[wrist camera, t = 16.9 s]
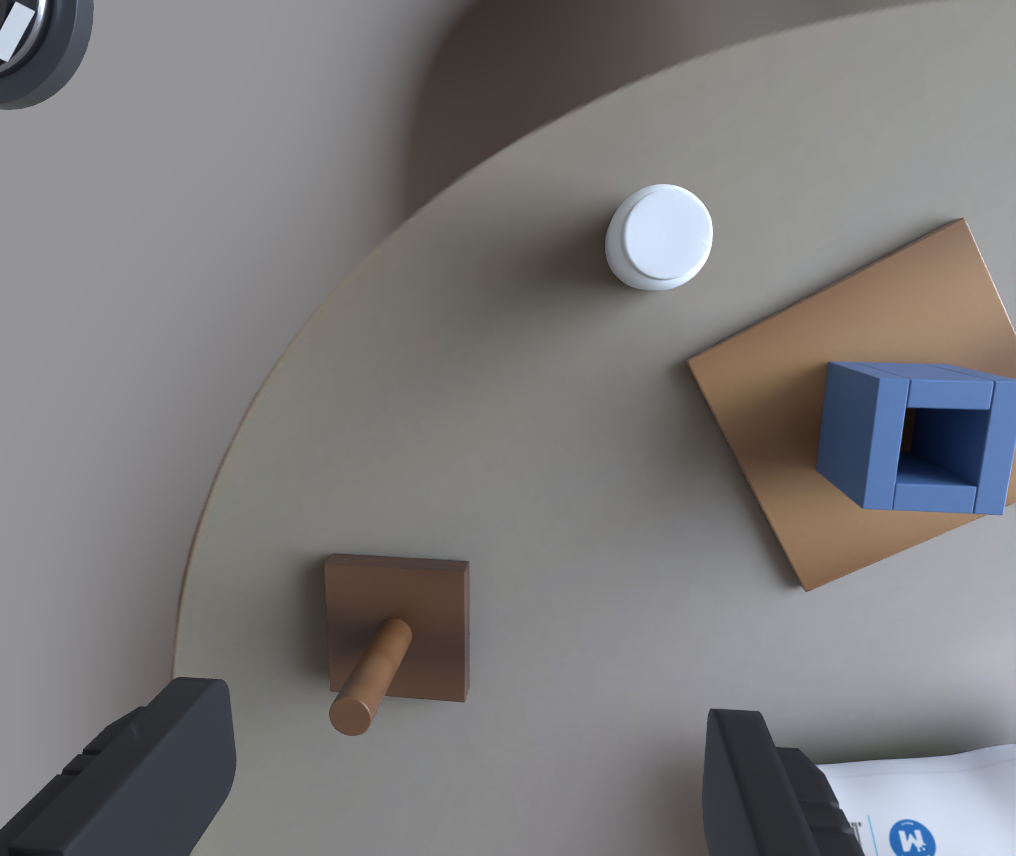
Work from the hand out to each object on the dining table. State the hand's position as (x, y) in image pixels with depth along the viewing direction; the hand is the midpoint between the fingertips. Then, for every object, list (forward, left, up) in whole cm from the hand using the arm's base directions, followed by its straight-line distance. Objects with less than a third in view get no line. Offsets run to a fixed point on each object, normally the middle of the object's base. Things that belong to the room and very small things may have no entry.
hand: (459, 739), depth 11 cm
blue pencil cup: (+8, +15, -25) cm, 30 cm away
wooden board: (+7, +15, -26) cm, 31 cm away
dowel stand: (+6, -13, -26) cm, 30 cm away
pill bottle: (-6, +9, -26) cm, 28 cm away
